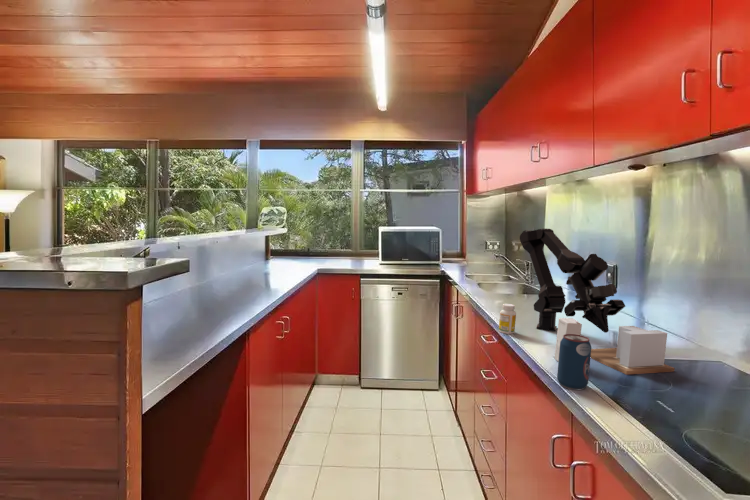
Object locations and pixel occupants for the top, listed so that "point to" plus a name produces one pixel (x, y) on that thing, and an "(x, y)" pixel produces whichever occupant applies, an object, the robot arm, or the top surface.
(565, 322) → the skincare box
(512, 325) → the supplement bottle
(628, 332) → the white block
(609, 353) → the brown board
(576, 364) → the soda can
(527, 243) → the robot arm
